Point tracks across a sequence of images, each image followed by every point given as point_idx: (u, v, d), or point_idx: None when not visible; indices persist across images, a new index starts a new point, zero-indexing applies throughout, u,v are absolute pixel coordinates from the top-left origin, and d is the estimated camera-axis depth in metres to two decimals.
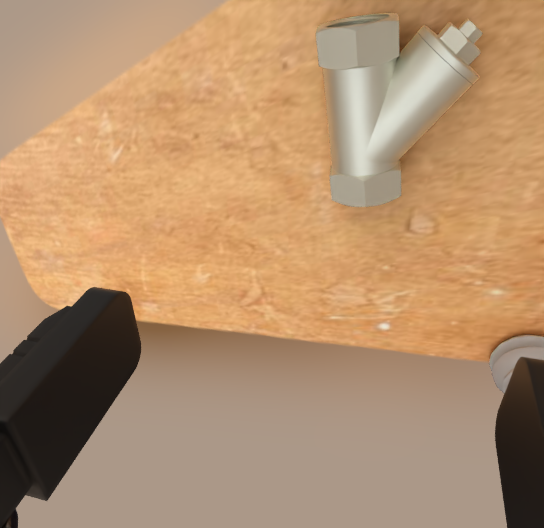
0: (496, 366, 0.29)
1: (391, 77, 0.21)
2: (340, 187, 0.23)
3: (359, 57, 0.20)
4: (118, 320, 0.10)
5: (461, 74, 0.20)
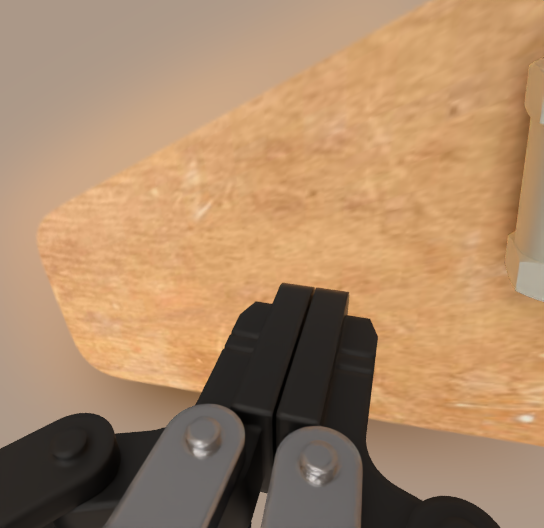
0: None
1: None
2: (535, 278, 0.17)
3: None
4: None
5: None
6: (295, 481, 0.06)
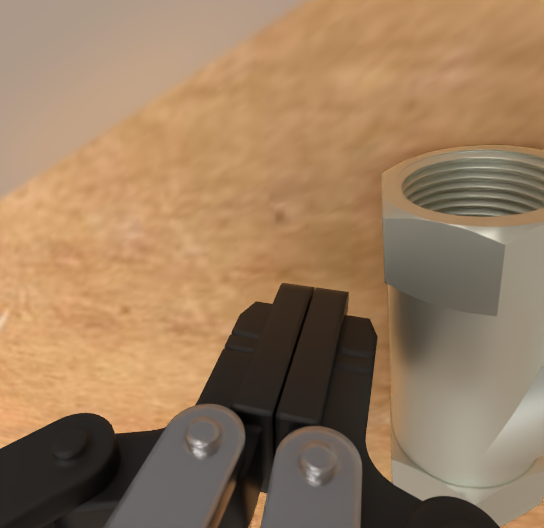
0: None
1: None
2: (414, 485, 0.11)
3: (504, 298, 0.07)
4: None
5: None
6: (295, 481, 0.06)
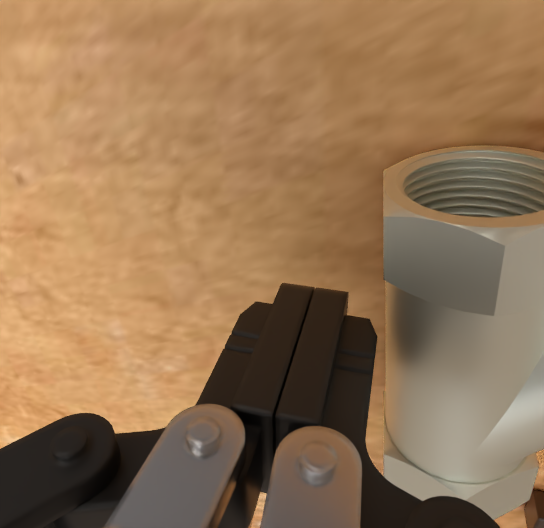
0: None
1: None
2: (405, 480, 0.11)
3: (501, 299, 0.07)
4: None
5: None
6: (294, 481, 0.06)
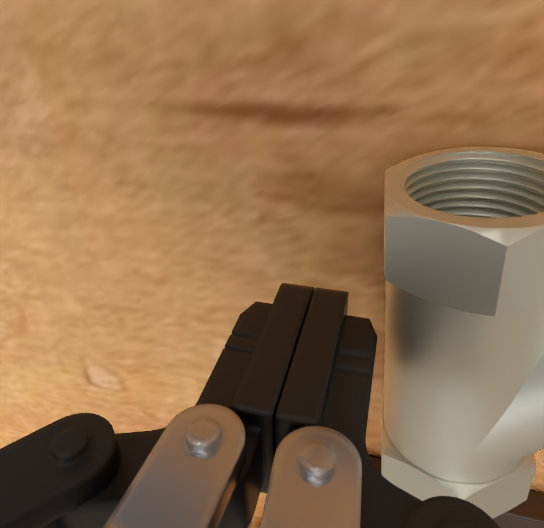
0: None
1: None
2: (403, 479, 0.11)
3: (502, 299, 0.07)
4: None
5: None
6: (294, 481, 0.06)
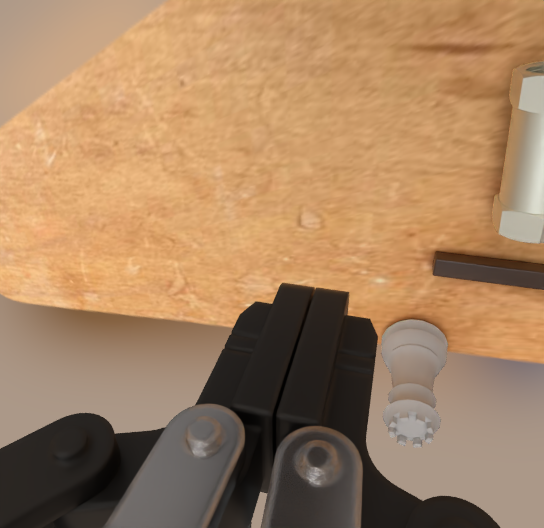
0: (383, 347, 0.33)
1: None
2: (512, 223, 0.24)
3: None
4: None
5: None
6: (295, 481, 0.06)
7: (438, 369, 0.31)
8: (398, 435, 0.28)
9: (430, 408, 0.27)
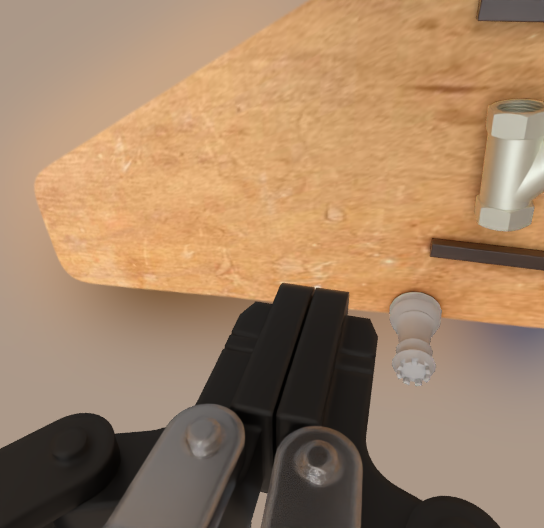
0: (391, 313, 0.42)
1: (541, 145, 0.30)
2: (488, 216, 0.33)
3: (526, 134, 0.29)
4: None
5: None
6: (295, 481, 0.06)
7: (434, 330, 0.40)
8: (404, 377, 0.37)
9: (428, 355, 0.36)
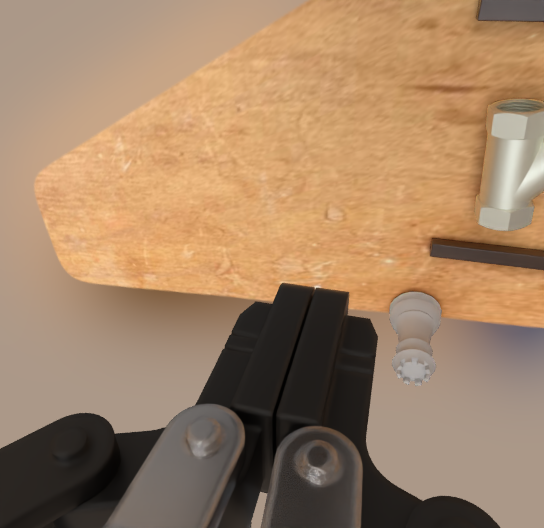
0: (391, 313, 0.42)
1: (541, 145, 0.30)
2: (488, 216, 0.33)
3: (526, 133, 0.29)
4: None
5: None
6: (295, 481, 0.06)
7: (434, 329, 0.40)
8: (403, 377, 0.37)
9: (428, 355, 0.36)
